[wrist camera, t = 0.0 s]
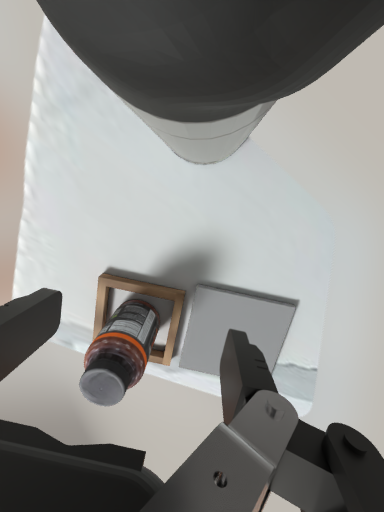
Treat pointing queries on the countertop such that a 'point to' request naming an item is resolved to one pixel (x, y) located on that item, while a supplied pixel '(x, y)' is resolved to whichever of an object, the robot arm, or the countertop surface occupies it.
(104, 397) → the supplement bottle
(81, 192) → the countertop surface
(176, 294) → the walnut frame
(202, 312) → the plate
